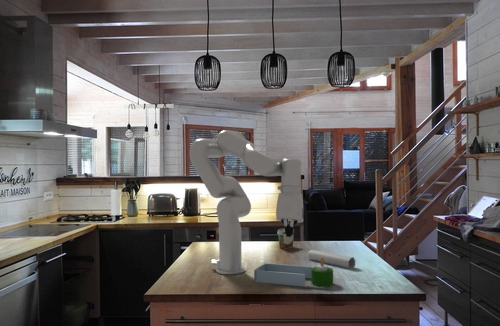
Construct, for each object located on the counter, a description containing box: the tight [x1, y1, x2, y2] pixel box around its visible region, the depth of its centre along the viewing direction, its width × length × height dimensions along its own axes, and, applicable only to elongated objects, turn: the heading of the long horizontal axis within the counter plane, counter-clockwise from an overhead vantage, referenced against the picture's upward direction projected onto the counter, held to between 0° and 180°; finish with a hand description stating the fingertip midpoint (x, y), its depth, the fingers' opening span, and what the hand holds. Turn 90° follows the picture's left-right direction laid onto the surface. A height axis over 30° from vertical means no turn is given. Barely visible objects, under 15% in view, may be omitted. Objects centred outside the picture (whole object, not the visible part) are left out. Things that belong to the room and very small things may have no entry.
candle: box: [310, 258, 334, 287], centre depth 159 cm, size 8×8×10 cm
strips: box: [306, 285, 327, 291], centre depth 160 cm, size 7×15×1 cm, turn 160°
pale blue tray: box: [253, 262, 313, 288], centre depth 164 cm, size 20×13×4 cm, turn 70°
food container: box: [276, 227, 295, 251], centre depth 226 cm, size 12×6×10 cm, turn 144°
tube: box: [307, 249, 356, 270], centre depth 191 cm, size 5×5×25 cm
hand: (289, 236), depth 164 cm, fingers closed
